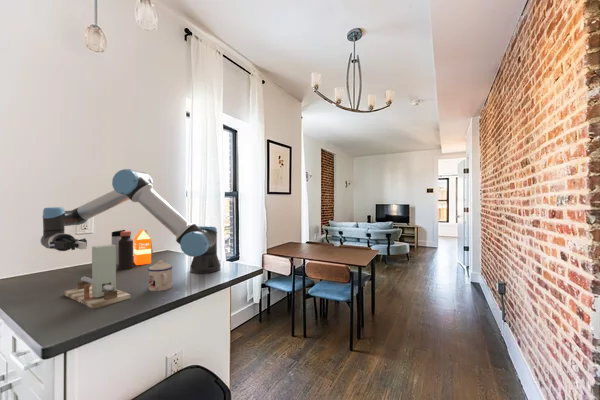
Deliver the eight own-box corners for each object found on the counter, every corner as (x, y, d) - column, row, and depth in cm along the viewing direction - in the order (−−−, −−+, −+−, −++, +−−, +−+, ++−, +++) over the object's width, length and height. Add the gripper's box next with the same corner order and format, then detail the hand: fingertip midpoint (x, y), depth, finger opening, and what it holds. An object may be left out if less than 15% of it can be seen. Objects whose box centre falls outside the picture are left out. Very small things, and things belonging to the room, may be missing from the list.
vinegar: (136, 267, 155) (136, 231, 155) (125, 270, 148) (125, 232, 148) (126, 266, 156) (126, 230, 156) (115, 269, 150) (115, 232, 150)
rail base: (64, 295, 109) (64, 278, 109) (99, 286, 119) (99, 271, 119) (93, 308, 95) (93, 289, 95) (130, 298, 105) (130, 281, 105)
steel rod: (80, 282, 113) (80, 276, 113) (86, 281, 115) (86, 275, 115) (107, 292, 100) (107, 286, 100) (114, 291, 102) (114, 284, 102)
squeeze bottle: (155, 257, 182) (155, 229, 182) (147, 259, 174) (147, 231, 174) (144, 256, 183) (143, 229, 183) (135, 259, 175) (135, 230, 175)
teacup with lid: (145, 288, 118) (145, 260, 118) (168, 283, 124) (168, 257, 124) (153, 295, 109) (153, 265, 109) (177, 290, 115) (177, 261, 115)
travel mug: (123, 265, 159) (123, 230, 159) (110, 266, 157) (110, 230, 157) (126, 263, 165) (126, 229, 165) (113, 264, 162) (113, 229, 162)
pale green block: (92, 295, 102) (92, 246, 102) (110, 290, 108) (110, 244, 108) (97, 297, 100) (96, 247, 100) (115, 292, 105) (115, 245, 105)
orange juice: (148, 260, 171) (148, 228, 171) (151, 263, 164) (151, 229, 164) (133, 262, 166) (133, 229, 166) (136, 265, 159) (136, 230, 159)
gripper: (79, 248, 131) (102, 252, 118) (43, 252, 120) (64, 258, 107) (79, 232, 131) (102, 234, 118) (42, 235, 120) (63, 238, 107)
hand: (84, 245), depth 113 cm, fingers closed
